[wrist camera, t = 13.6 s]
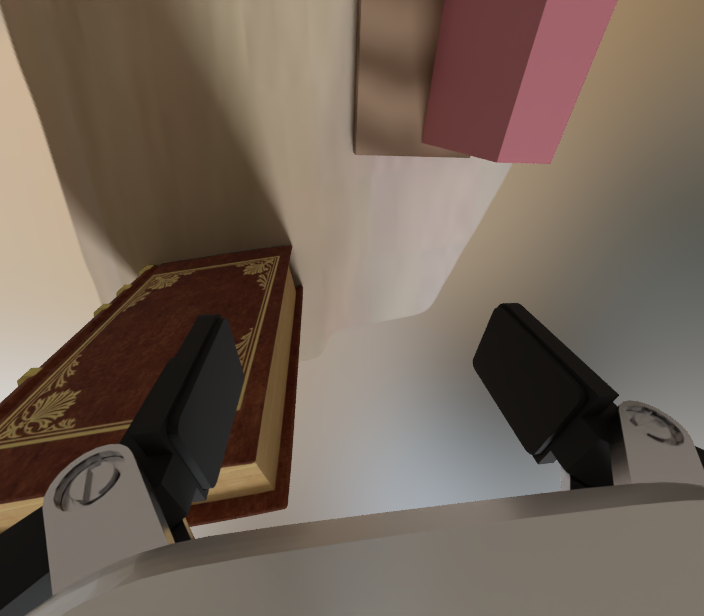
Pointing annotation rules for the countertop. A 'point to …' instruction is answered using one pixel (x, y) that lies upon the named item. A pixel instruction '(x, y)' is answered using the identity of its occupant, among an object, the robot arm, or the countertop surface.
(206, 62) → the countertop surface
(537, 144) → the slim book
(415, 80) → the shelf board
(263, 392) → the decorative book
